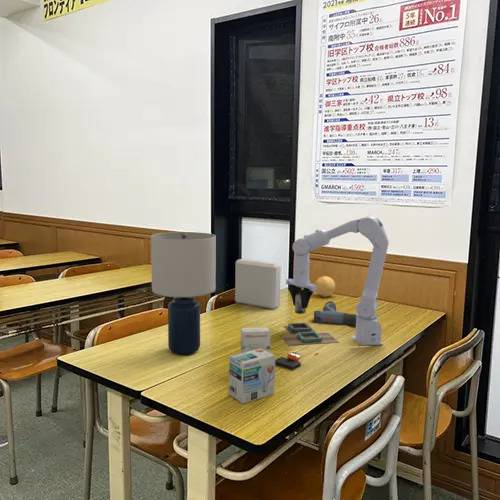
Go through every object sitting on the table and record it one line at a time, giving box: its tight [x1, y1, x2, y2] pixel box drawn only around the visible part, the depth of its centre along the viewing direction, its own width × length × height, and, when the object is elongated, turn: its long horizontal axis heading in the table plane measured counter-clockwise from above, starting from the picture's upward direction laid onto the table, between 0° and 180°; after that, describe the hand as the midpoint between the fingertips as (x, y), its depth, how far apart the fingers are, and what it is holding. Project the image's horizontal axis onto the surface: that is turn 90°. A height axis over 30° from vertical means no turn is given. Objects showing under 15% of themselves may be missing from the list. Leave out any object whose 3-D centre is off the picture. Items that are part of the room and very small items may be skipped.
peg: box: [294, 293, 307, 315], centre depth 175 cm, size 4×4×7 cm
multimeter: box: [275, 351, 319, 371], centre depth 150 cm, size 18×12×3 cm, turn 136°
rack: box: [280, 331, 340, 347], centre depth 166 cm, size 10×18×2 cm, turn 102°
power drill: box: [313, 301, 357, 326], centre depth 193 cm, size 5×19×20 cm
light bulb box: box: [228, 348, 276, 404], centre depth 123 cm, size 11×7×11 cm, turn 126°
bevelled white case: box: [234, 258, 282, 310], centre depth 211 cm, size 21×8×20 cm, turn 58°
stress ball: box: [314, 275, 336, 298], centre depth 229 cm, size 10×10×10 cm
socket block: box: [282, 322, 316, 335], centre depth 176 cm, size 10×10×2 cm
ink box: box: [240, 326, 271, 353], centre depth 142 cm, size 9×5×12 cm, turn 96°
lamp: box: [150, 231, 217, 356], centre depth 152 cm, size 20×20×39 cm
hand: (300, 306), depth 175 cm, fingers closed on peg, 4 cm apart
